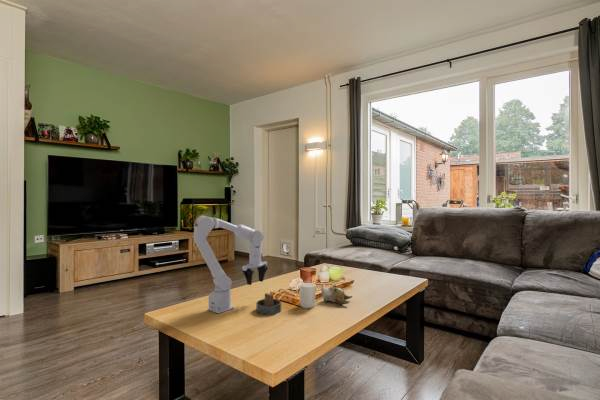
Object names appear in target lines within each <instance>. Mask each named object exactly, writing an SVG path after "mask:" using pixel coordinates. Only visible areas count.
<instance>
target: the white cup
mask: <svg viewBox="0 0 600 400" xmlns="http://www.w3.org/2000/svg"><path fill="white" fill-rule="evenodd" d="M298 287H299V300H300V301H299V303H300V304H299V306H300V307H301V308H304V309H311V308H314V307H315V305H316V291H317V289H316V288H317V285H316V284H315V283H314V282H301V283H299V285H298Z"/></svg>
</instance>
